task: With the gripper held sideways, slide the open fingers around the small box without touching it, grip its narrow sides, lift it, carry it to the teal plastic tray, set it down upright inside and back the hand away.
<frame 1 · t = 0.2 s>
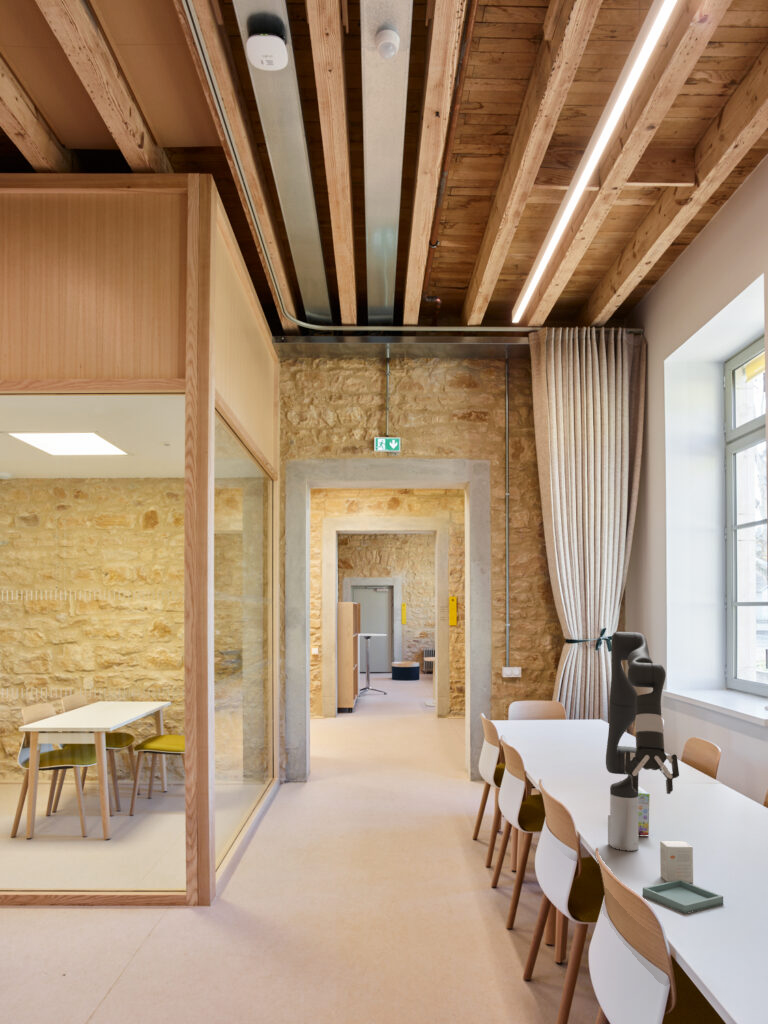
hand: (652, 792, 220), 31 cm above the table, tool tilted 20°, fingers open, 8 cm apart
snack box: (633, 829, 295), on the table
small box: (676, 880, 241), on the table
tray: (682, 899, 224), on the table
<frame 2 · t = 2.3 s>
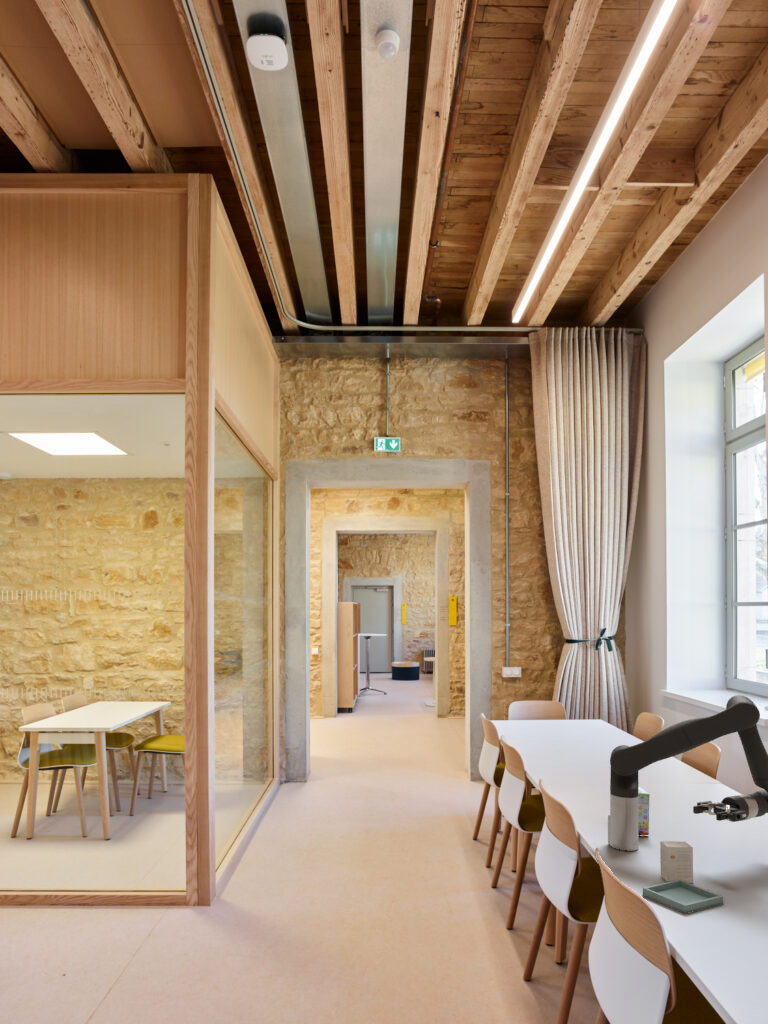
hand: (705, 813, 249), 18 cm above the table, tool horizontal, fingers open, 8 cm apart
nothing on the table moved.
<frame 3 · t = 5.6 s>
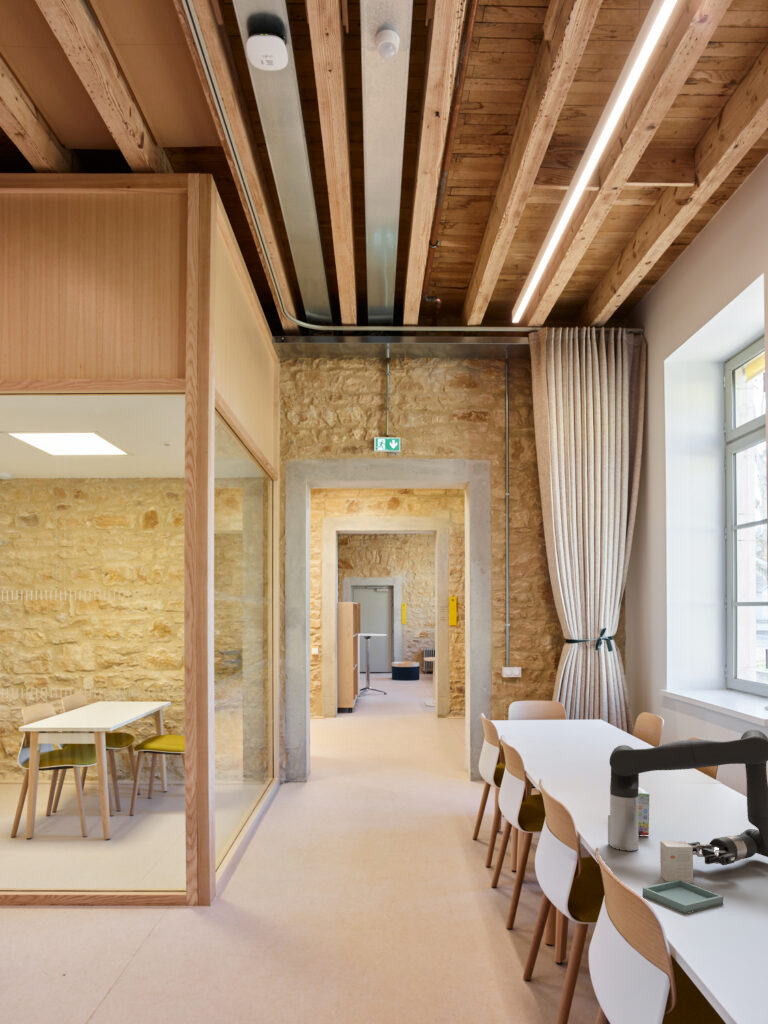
hand: (693, 856, 245), 6 cm above the table, tool horizontal, fingers open, 8 cm apart
nothing on the table moved.
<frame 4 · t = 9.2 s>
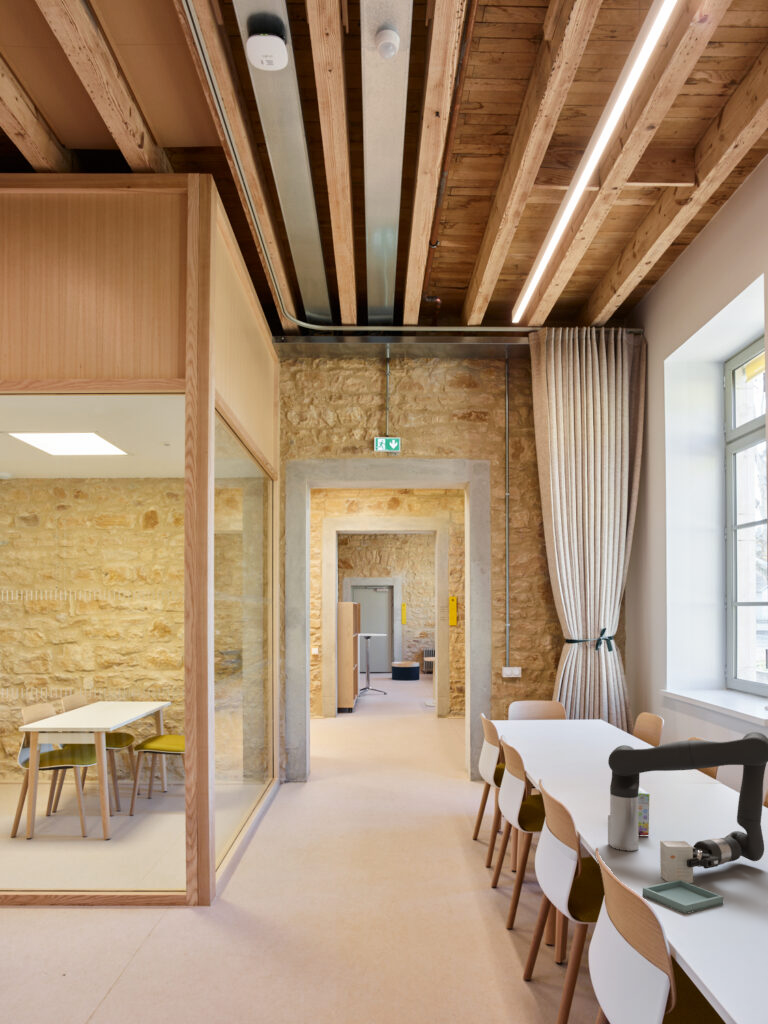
hand: (676, 859, 241), 6 cm above the table, tool horizontal, fingers closed on small box, 7 cm apart
small box: (676, 880, 241), on the table, touching gripper
everything else where it was.
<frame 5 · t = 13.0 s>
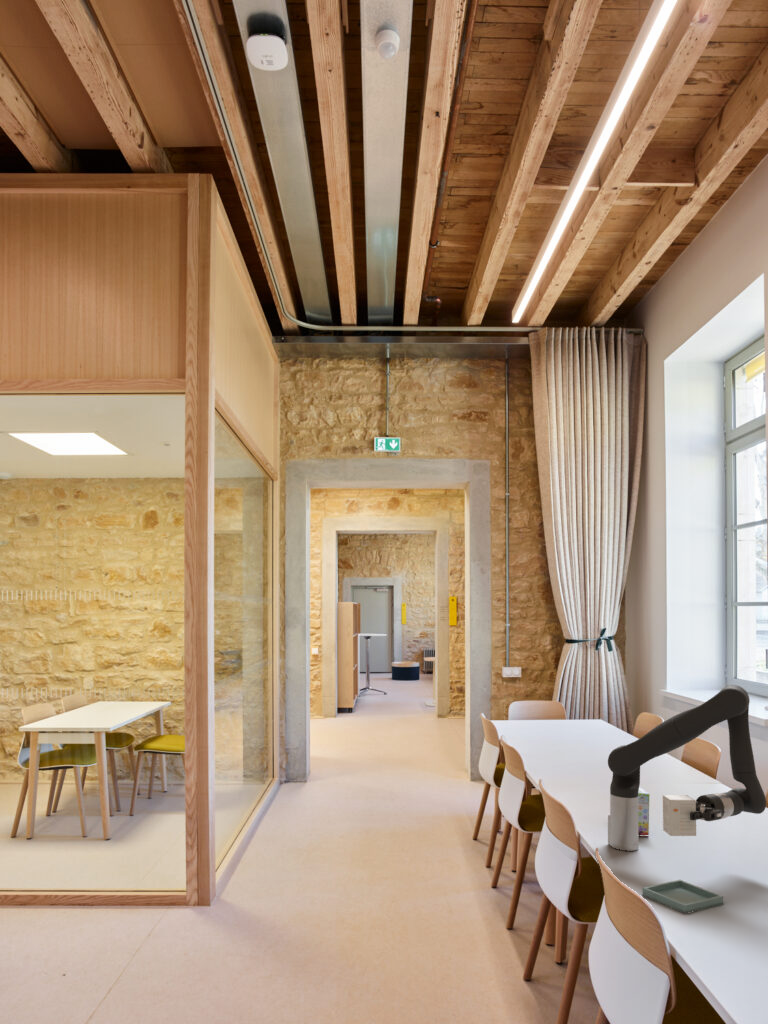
hand: (679, 813, 238), 21 cm above the table, tool horizontal, fingers closed on small box, 7 cm apart
small box: (679, 834, 238), point 14 cm above the table, touching gripper
everything else where it was.
when the fingers open (8 cm above the table, at t = 17.1 s): small box stays where it is, resting on tray.
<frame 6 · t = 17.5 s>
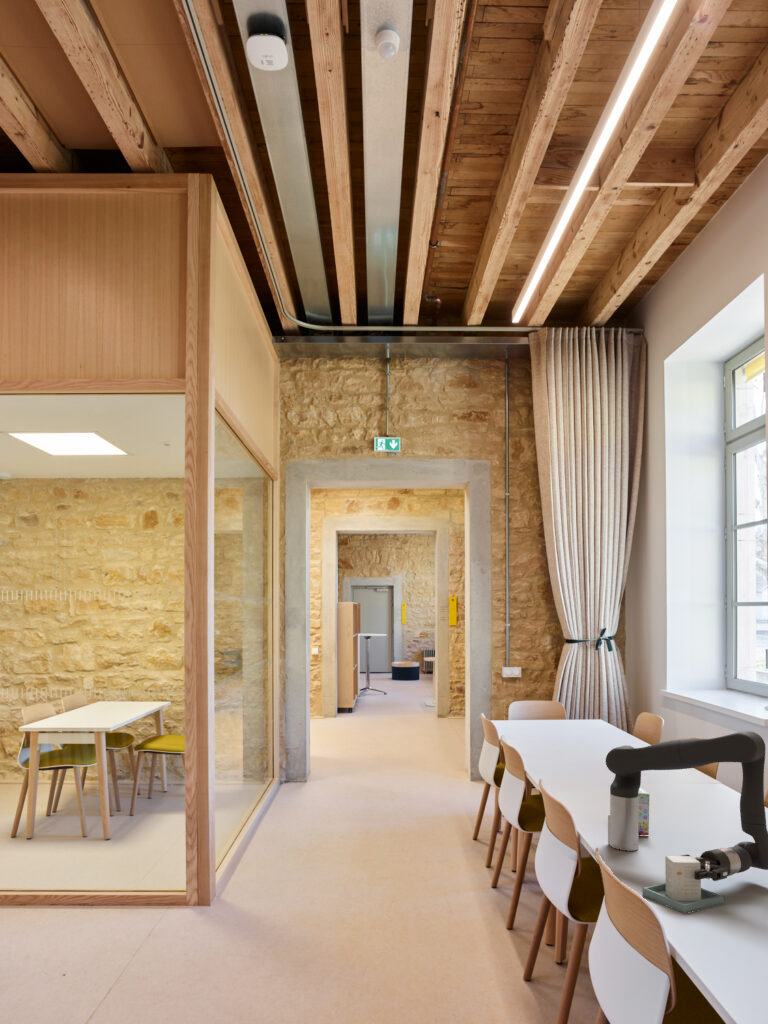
hand: (682, 870, 225), 8 cm above the table, tool horizontal, fingers open, 8 cm apart
small box: (683, 898, 224), resting on tray
everything else where it was.
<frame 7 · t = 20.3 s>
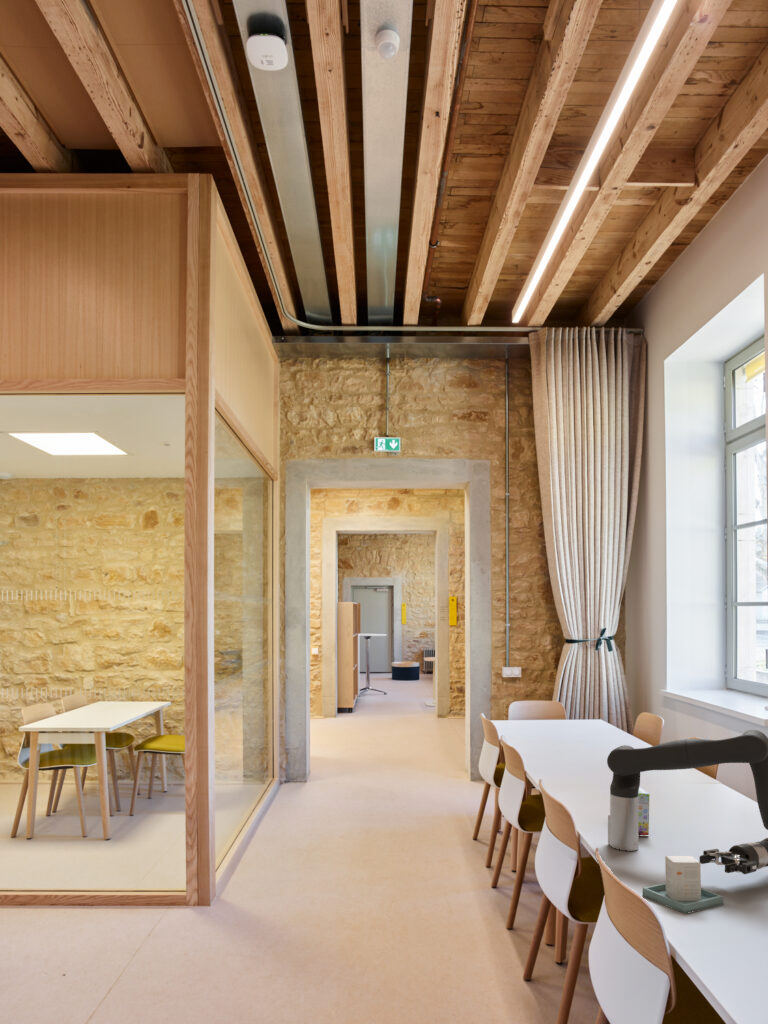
hand: (713, 864, 231), 8 cm above the table, tool horizontal, fingers open, 8 cm apart
nothing on the table moved.
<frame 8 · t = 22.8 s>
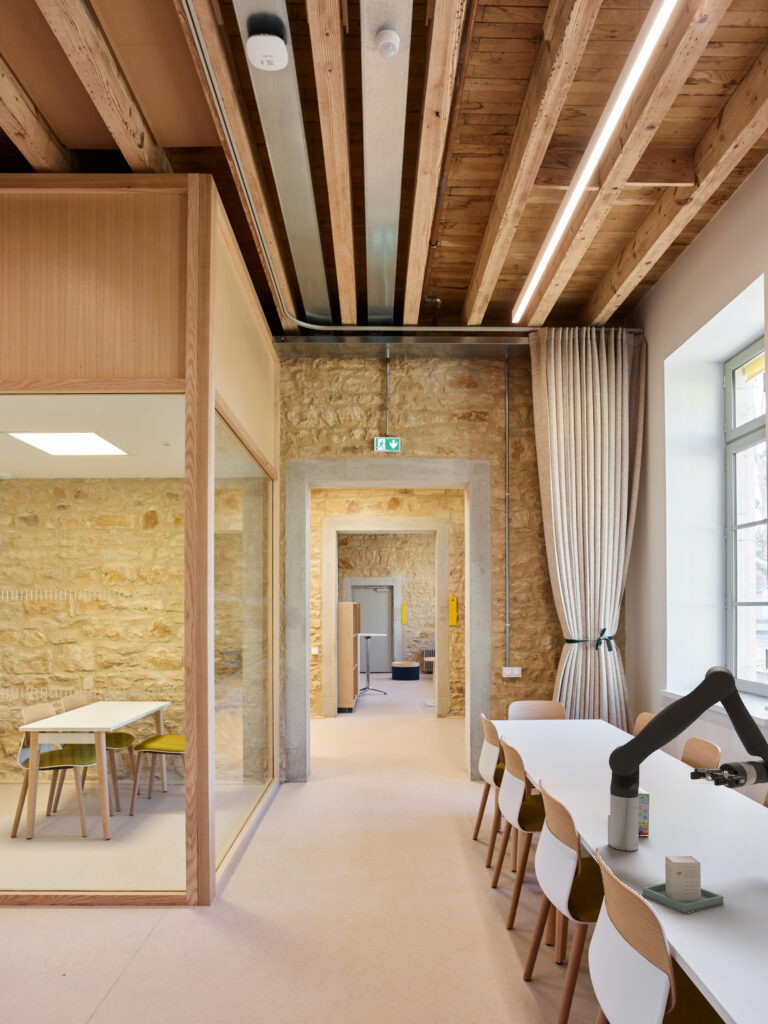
hand: (703, 778, 243), 30 cm above the table, tool horizontal, fingers open, 8 cm apart
nothing on the table moved.
at the end: small box inside the target area on the tray (0.1 cm from its centre), point 0.4 cm above the tray's base; small box tilted 0°; the gripper is holding nothing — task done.
